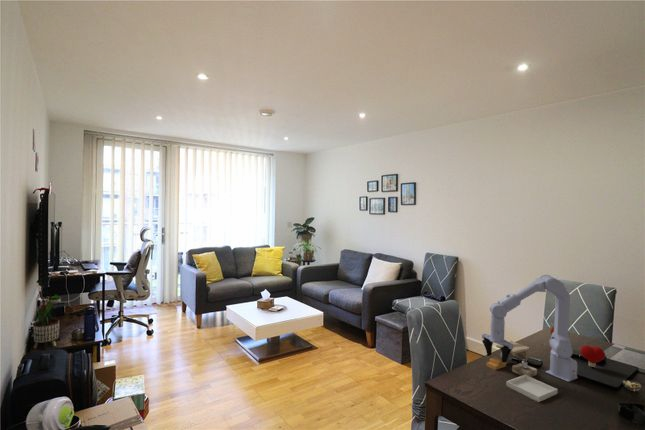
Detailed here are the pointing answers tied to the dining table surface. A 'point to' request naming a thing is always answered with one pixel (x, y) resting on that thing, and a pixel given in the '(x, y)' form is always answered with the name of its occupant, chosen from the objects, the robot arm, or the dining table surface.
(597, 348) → the red mushroom
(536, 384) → the parts tray
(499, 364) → the tan stepped block
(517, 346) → the trolley
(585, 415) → the dining table surface
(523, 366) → the pin
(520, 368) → the pin socket
